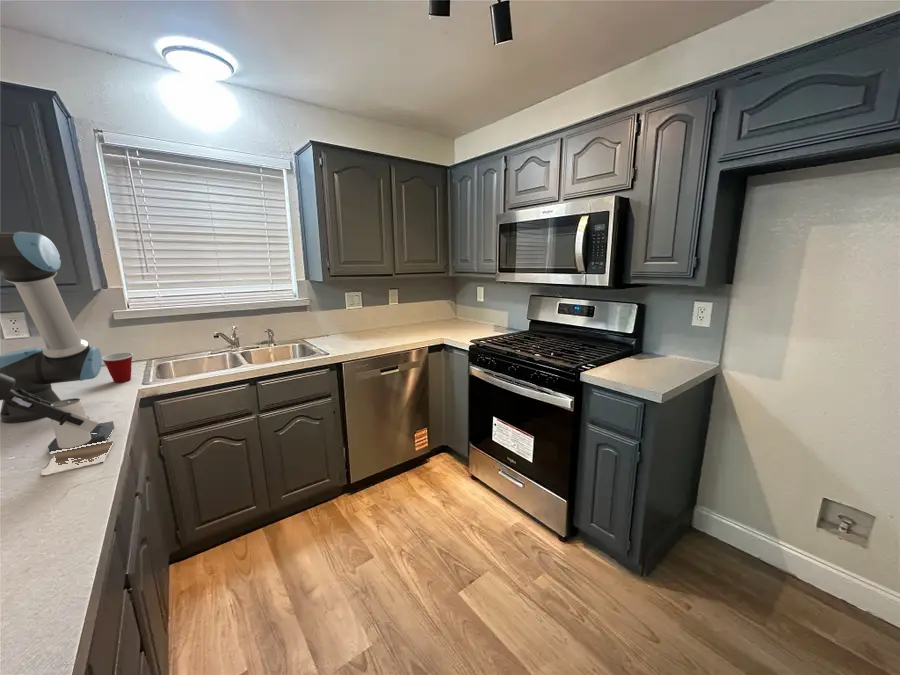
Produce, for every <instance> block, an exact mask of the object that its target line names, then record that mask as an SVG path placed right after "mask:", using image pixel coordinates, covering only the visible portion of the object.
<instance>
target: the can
mask: <svg viewBox="0 0 900 675" xmlns="http://www.w3.org/2000/svg"><path fill="white" fill-rule="evenodd" d="M60 400H61V401H58V402H55V403H53V404H51V406H53V407H55V408H58V409H61V410H63V411H66V412H70V413H73V414H76V415H79V416H81V417H84V418H87V416H88V415H87V412H86V409H85V405H84V403H83V402H82V401H81V399H80V398H77V397H76V398H74V397H73V398H67V399H66V398H65V399H63V400H62V399H60ZM51 422H52V423H51V424H52V427H53V431H54V435H55V438H56V439H57V443H58V447H59V448H61V449H70V448H75V447H79V446H82V445H84V444H86V443H88V442H89V441H90V440H91V434H90V432H88V431H86V430H83V429H80V428H77V427H74V426H71V425H68V424H66V423H64V424H63V425H59V424H60V423H59V422H58V421H55V420H52V419H51Z"/></svg>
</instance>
